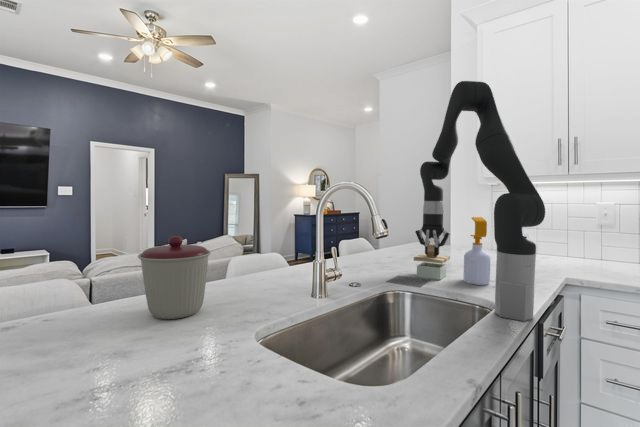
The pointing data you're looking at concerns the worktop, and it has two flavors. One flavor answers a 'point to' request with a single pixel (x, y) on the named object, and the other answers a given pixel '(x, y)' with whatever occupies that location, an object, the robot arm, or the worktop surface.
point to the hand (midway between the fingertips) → (431, 255)
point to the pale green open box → (431, 271)
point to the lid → (431, 256)
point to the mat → (408, 281)
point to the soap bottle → (477, 257)
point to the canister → (174, 278)
